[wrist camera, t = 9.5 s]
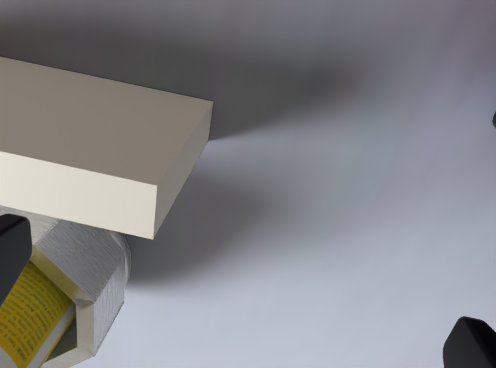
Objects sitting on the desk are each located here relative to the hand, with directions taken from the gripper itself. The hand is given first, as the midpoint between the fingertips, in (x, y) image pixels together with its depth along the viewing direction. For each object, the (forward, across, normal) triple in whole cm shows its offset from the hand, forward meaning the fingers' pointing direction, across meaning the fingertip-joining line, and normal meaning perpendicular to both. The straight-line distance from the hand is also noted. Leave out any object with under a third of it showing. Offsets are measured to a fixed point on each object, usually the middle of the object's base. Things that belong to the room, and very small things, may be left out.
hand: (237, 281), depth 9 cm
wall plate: (+12, +10, +2) cm, 16 cm away
